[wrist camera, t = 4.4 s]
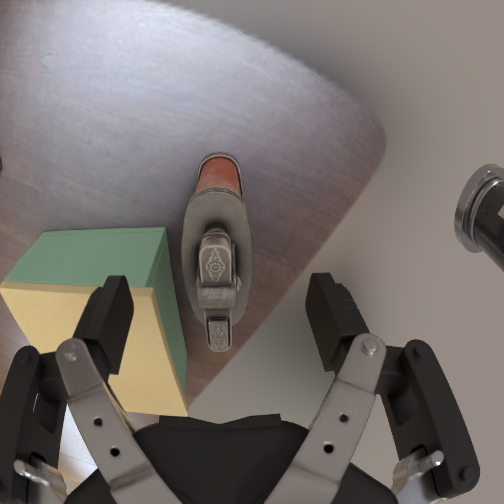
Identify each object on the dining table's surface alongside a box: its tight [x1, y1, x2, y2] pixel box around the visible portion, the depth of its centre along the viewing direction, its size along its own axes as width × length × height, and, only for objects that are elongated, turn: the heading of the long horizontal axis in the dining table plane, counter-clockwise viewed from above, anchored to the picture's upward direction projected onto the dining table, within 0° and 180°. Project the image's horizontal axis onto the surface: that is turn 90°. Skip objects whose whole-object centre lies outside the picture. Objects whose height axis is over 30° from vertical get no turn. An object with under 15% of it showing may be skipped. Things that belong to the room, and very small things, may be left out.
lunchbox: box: [4, 227, 187, 395], centre depth 21 cm, size 12×16×7 cm
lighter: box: [181, 152, 253, 351], centre depth 15 cm, size 8×3×10 cm, turn 178°
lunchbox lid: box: [0, 281, 189, 416], centre depth 18 cm, size 12×16×1 cm
